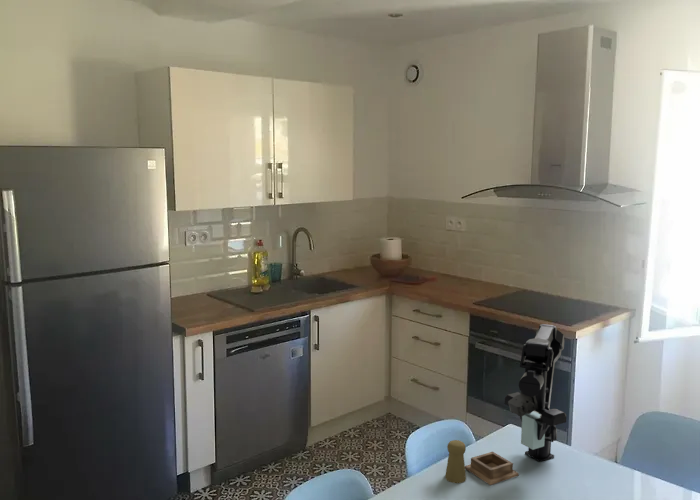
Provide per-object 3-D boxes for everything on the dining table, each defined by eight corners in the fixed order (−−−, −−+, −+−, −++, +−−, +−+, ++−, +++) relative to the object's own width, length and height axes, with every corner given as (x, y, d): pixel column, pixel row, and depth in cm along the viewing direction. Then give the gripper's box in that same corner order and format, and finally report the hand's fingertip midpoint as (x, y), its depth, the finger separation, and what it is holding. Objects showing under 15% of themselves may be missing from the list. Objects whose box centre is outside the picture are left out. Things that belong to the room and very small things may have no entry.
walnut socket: (492, 460, 187) (492, 449, 187) (518, 475, 178) (519, 464, 177) (464, 468, 182) (465, 457, 181) (490, 485, 173) (490, 473, 172)
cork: (465, 484, 173) (467, 447, 171) (444, 482, 174) (445, 445, 173) (466, 474, 179) (467, 438, 177) (445, 471, 180) (446, 436, 178)
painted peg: (532, 440, 179) (533, 410, 178) (544, 446, 175) (545, 416, 174) (520, 443, 177) (522, 413, 176) (532, 449, 173) (534, 419, 172)
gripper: (491, 379, 178) (489, 430, 180) (540, 400, 162) (537, 456, 164) (519, 373, 183) (517, 422, 186) (569, 393, 167) (566, 446, 169)
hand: (532, 436), depth 176 cm, fingers closed on painted peg, 5 cm apart
